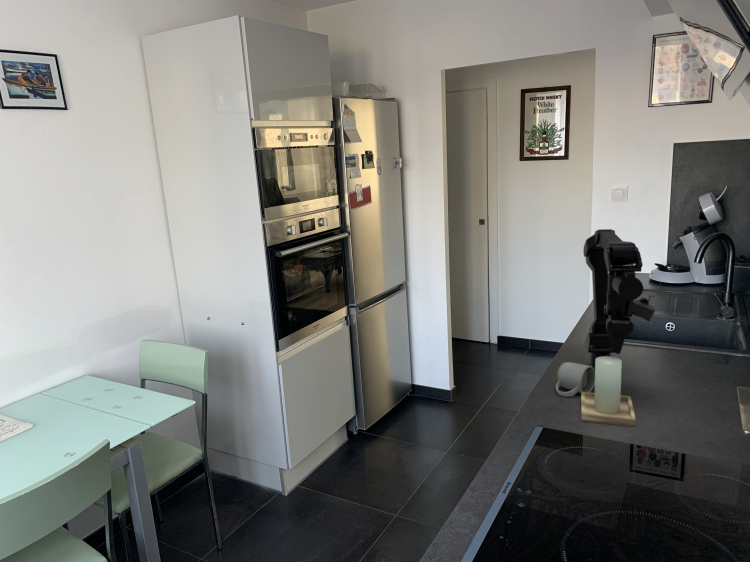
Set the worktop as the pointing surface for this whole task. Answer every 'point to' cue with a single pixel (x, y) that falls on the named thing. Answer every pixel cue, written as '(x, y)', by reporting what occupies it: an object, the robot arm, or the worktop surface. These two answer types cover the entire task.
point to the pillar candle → (607, 385)
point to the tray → (621, 418)
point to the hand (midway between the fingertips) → (616, 348)
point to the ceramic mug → (575, 378)
